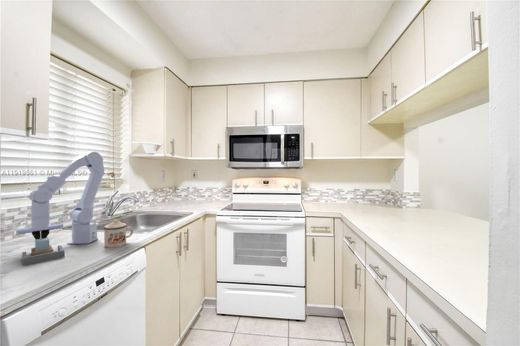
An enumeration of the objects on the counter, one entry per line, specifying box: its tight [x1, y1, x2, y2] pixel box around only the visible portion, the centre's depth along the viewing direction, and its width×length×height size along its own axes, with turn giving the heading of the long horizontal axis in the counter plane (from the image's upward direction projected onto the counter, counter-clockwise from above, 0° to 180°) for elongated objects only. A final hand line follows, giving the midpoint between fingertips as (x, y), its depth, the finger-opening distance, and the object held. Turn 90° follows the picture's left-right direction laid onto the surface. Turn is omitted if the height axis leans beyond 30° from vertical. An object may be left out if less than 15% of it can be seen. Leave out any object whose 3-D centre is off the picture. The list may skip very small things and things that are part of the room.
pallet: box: [30, 244, 54, 256], centre depth 95 cm, size 9×6×2 cm, turn 47°
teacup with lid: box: [103, 219, 134, 248], centre depth 108 cm, size 12×9×12 cm
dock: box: [21, 244, 66, 266], centre depth 91 cm, size 9×12×2 cm
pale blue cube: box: [34, 237, 50, 251], centre depth 94 cm, size 4×4×4 cm
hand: (40, 248), depth 99 cm, fingers closed, pressing on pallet
